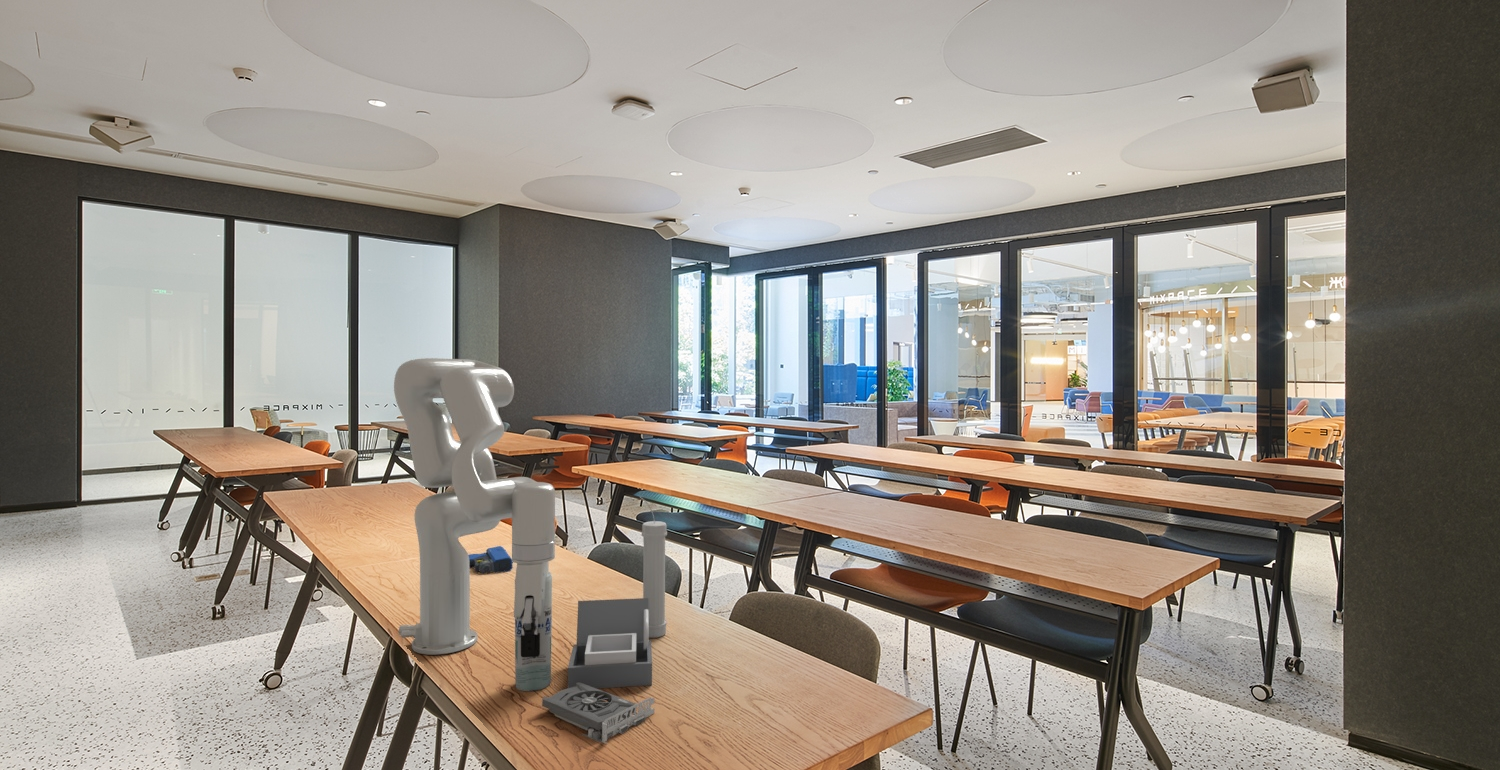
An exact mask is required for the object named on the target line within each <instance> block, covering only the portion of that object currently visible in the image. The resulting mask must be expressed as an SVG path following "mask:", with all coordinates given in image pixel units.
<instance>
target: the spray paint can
mask: <svg viewBox="0 0 1500 770" xmlns="http://www.w3.org/2000/svg"><path fill="white" fill-rule="evenodd" d="M552 597H553V576H552V573H551V572H550V571H549V572H548V575H547V577H546V584H545V603H544V611H543V615H542V616H541V617H540V618H539V627H538V633H540V654H539V656H537V657H521V632H522V616H523V612H522V615H521V617H520V618H518V619H515V618H514V649H515V650H514V652H515V653H514V655H515V656H514V660H515V661H514V662H515V665H514V666H515V668H514V669H515V670H514V671H515V674H514V675H515V677H514V679H515V681H514V683H515V687H516V689H517V690H519V691H522V692H535V691H536V692H537V691H539V690H542V689H545V688H547V687H549V686H550V684H551V681H552V618H553V617H552V612H553V611H552V610H553V605H552V603H553V602H552V601H553V598H552ZM533 604H534V603H533ZM532 616H536V612H532ZM532 623H534V625H535V620H532ZM534 627H535V626H534Z"/></svg>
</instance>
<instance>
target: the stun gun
mask: <svg viewBox="0 0 1500 770" xmlns="http://www.w3.org/2000/svg"><path fill="white" fill-rule="evenodd" d="M485 551H486V552H482V553H472V554H470V553H469V554H468V556H469V567H470V568H471V567H473V568H474V569H475V572H480V573H481V574H489V573H494V574H495V573H502V572H503V573H504V572H510V571H511V570H512V569H513V568H514V567H513V564H514V562H513V561H512V556H510V555H509V553H508V552H507V551H506V549H505V548H504V547H503V546H501V545H499V546H492V547H488V548H487V549H486V550H485Z"/></svg>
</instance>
